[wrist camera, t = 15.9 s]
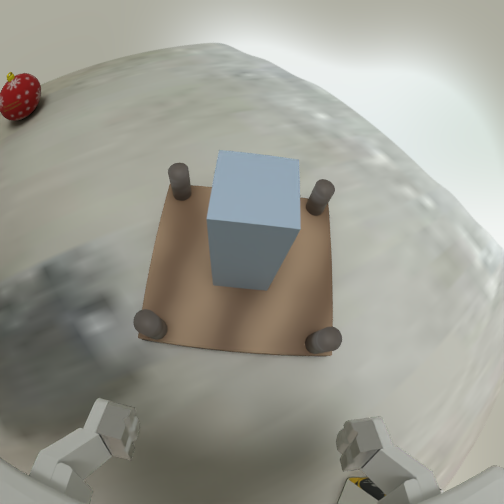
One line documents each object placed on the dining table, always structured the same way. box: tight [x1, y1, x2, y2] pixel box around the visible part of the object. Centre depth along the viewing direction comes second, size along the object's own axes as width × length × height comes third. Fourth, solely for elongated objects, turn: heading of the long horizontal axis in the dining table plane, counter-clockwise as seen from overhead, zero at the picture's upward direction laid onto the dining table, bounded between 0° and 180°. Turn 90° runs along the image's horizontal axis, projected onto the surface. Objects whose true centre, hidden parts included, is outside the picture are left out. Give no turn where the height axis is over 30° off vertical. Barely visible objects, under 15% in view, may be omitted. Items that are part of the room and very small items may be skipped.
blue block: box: [207, 150, 301, 291], centre depth 19 cm, size 4×4×11 cm
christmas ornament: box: [0, 72, 41, 121], centre depth 28 cm, size 9×9×10 cm
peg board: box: [134, 163, 342, 356], centre depth 23 cm, size 16×15×5 cm
